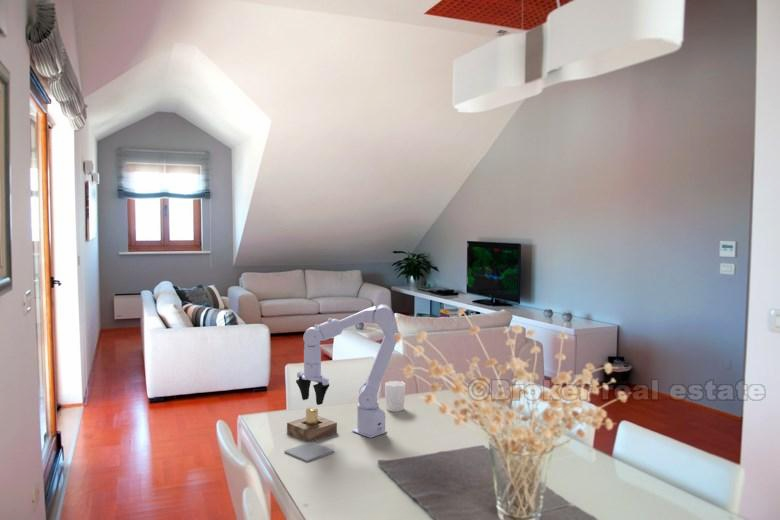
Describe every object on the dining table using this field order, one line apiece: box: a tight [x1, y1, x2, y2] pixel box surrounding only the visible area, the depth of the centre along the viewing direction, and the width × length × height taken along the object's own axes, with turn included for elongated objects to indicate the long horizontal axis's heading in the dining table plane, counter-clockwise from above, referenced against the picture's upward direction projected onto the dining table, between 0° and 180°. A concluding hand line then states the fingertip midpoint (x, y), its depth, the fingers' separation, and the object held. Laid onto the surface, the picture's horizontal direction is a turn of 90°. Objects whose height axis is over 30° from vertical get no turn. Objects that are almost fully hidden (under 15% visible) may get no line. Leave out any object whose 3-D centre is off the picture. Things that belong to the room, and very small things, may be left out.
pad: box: [283, 441, 335, 463], centre depth 189 cm, size 11×11×1 cm
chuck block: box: [286, 415, 338, 442], centre depth 206 cm, size 12×12×4 cm
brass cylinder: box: [305, 407, 319, 426], centre depth 206 cm, size 4×4×8 cm
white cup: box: [384, 380, 406, 413], centre depth 233 cm, size 8×8×10 cm
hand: (312, 401), depth 207 cm, fingers open, 7 cm apart
